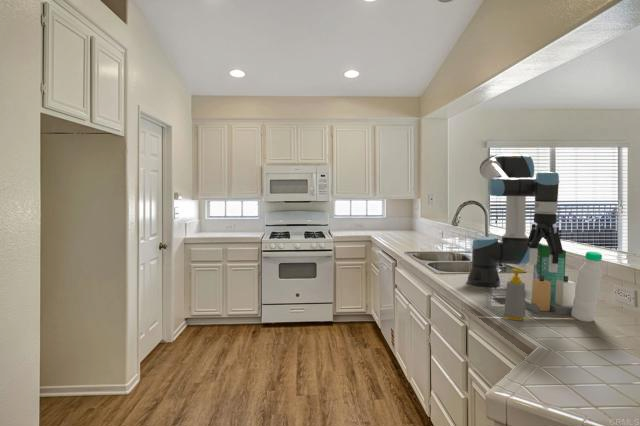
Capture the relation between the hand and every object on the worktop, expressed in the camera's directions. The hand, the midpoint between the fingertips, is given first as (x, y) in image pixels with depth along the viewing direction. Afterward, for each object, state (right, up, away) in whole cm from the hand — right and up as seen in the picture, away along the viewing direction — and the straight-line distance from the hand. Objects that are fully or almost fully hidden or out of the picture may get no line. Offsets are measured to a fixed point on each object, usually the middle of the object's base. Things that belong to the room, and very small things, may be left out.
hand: (542, 268), depth 149 cm
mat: (-7, -16, +13) cm, 22 cm away
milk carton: (+10, -17, +14) cm, 24 cm away
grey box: (+6, -17, +1) cm, 18 cm away
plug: (0, -16, +1) cm, 16 cm away
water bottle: (+11, -17, -7) cm, 21 cm away
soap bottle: (-14, -17, -7) cm, 24 cm away
